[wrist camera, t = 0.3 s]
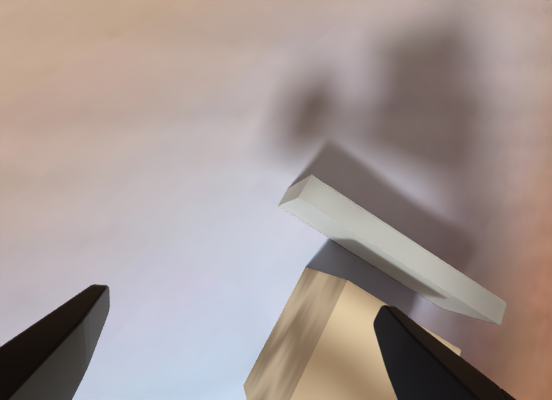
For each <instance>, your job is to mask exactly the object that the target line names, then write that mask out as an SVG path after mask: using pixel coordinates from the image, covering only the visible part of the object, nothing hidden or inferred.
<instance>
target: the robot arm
mask: <svg viewBox="0 0 552 400" xmlns="http://www.w3.org/2000/svg"><path fill="white" fill-rule="evenodd" d="M109 307H110V297H109V287H108V286H107V285H96V284H94V285H91V286H89V287H88V288H86V289H85V290H83V291H82V292H81V293H79V294H78V295H76V296H75V297H73V298H72V299H70V300H69V301H67V302H66V303H64V304H63V305H61V306H60V307H58V308H57V309H56V310H54V311H53V312H51V313H50V314H48V315H47V316H45V317H44V318H42V319H41V320H39V321H38V322H36V323H35V324H33V325H32V326H30V327H29V328H28V329H26V330H25V331H23V332H22V333H20V334H19V335H17V336H16V337H14V338H13V339H11V340H10V341H8V342H7V343H5V344H4V345H3V346H1V347H0V400H72V398H73V396H74V394H75V392H76V390H77V388H78V386H79V385H80V383H81V381H82V379H83V376H84V374H85V372H86V370H87V368H88V365H89V363H90V360H91V358H92V355H93V352H94V350H95V347H96V345H97V342H98V339H99V337H100V334H101V331H102V329H103V326H104V323H105V321H106V318H107V316H108V312H109ZM373 327H374V331H375V334H376V338H377V341H378V345H379V348H380V351H381V355H382V358H383V362H384V365H385V368H386V371H387V374H388V377H389V379H390V382H391V385H392V387H393V390H394V392H395V395H396V397H397V400H516V399H515V398H513V397H512V396H511V395H509V394H508V393H507V392H506V391H504V390H503V389H500V387H499V386H498V385H496V384H495V383H494V382H492V381H491V380H490V379H489V378H487V377H486V376H485V375H483V374H482V373H481V372H479V371H478V370H477V369H476V368H474V367H473V366H472V365H470V364H469V363H468V362H466V361H465V360H464V359H462V358H461V357H460V356H459V355H457V354H456V353H455V352H453V351H452V350H451V349H449V348H448V347H447V346H446V345H444V344H443V343H442V342H440V341H439V340H438V339H436V338H435V337H434V336H433V335H431V334H430V333H429V332H427V331H426V330H425V329H423V328H422V327H421V326H420V325H418V324H417V323H416V322H414V321H413V320H412V319H410V318H409V317H408V316H407V315H405V314H404V313H403V312H401V311H400V310H399V309H397V308H396V307H395V306H391V305H383V306H381V308H380V309H379V311H378V313H377V315H376V317H375V319H374V322H373Z"/></svg>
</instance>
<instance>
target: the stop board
mask: <svg viewBox="0 0 552 400" xmlns="http://www.w3.org/2000/svg"><path fill="white" fill-rule="evenodd" d="M278 207H280V208H281V209H283V210H285V211H286V212H288V213H289V214H291V215H293V216H294V217H296V218H297V219H299V220H301V221H302V222H304V223H305V224H307V225H309V226H310V227H312V228H314V229H315V230H317V231H318V232H320V233H322V234H323V235H325V236H326V237H328V238H330V239H331V240H333V241H334V242H336V243H338V244H339V245H341V246H342V247H344V248H346V249H347V250H349V251H350V252H352V253H354V254H355V255H357V256H358V257H360V258H362V259H363V260H365V261H367V262H368V263H370V264H371V265H373V266H375V267H376V268H378V269H379V270H381V271H383V272H384V273H386V274H387V275H389V276H391V277H392V278H394V279H395V280H397V281H399V282H400V283H402V284H403V285H405V286H407V287H408V288H410V289H411V290H413V291H415V292H416V293H418V294H420V295H421V296H423V297H424V298H426V299H428V300H429V301H431V302H432V303H434V304H436V305H437V306H439V307H440V308H444V309H447V310H450V311H454V312H457V313H460V314H464V315H467V316H470V317H473V318H477V319H480V320H483V321H487V322H490V323H493V324H497V325H501V322H502V318H503V315H504V312H505V309H506V306H507V302H505V301H504V300H502V299H500V298H499V297H497V296H496V295H494V294H493V293H491V292H490V291H488V290H487V289H485V288H484V287H482V286H481V285H479V284H478V283H476V282H475V281H473V280H472V279H470V278H468V277H467V276H465V275H464V274H462V273H461V272H459V271H458V270H456V269H455V268H453V267H452V266H450V265H449V264H447V263H446V262H444V261H443V260H441V259H440V258H438V257H436V256H435V255H433V254H432V253H430V252H429V251H427V250H426V249H424V248H423V247H421V246H420V245H418V244H417V243H415V242H414V241H412V240H411V239H409V238H408V237H406V236H404V235H403V234H401V233H400V232H398V231H397V230H395V229H394V228H392V227H391V226H389V225H388V224H386V223H385V222H383V221H382V220H380V219H379V218H377V217H376V216H374V215H372V214H371V213H369V212H368V211H366V210H365V209H363V208H362V207H360V206H359V205H357V204H356V203H354V202H353V201H351V200H350V199H348V198H347V197H345V196H343V195H342V194H340V193H339V192H337V191H336V190H334V189H333V188H331V187H330V186H328V185H327V184H325V183H324V182H322V181H321V180H319V179H318V178H316V177H315V176H313V175H310V176H308V177H306V178H305V179H303V180H301V181H300V182H298V183H296V184H295V185H293V186H291V187H289V188H288V189H287V191H286V193H285V195H284V196H283V198H282V200H281V202H280V203H279V205H278Z"/></svg>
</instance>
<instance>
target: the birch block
mask: <svg viewBox="0 0 552 400" xmlns="http://www.w3.org/2000/svg"><path fill="white" fill-rule="evenodd" d="M383 305H387V304H386V303H384V302H382V301H381V300H379V299H378V298H376V297H374V296H373V295H371V294H369V293H368V292H366V291H365V290H363V289H361V288H360V287H358V286H357V285H355V284H353V283H352V282H350V281H348V280H346V279H343V278H339V277H336V276H333V275H330V274H327V273H323V272H320V271H317V270H314V269H310V268H307V267H305V269H304V271H303V273H302V275H301V277H300V279H299V281H298V282H297V284H296V286H295V288H294V290H293V292H292V294H291V296H290V298H289V300H288V301H287V303H286V305H285V307H284V309H283V311H282V313H281V315H280V317H279V319H278V321H277V322H276V324H275V326H274V328H273V330H272V332H271V334H270V336H269V338H268V340H267V341H266V343H265V345H264V347H263V349H262V351H261V353H260V355H259V357H258V359H257V360H256V362H255V364H254V366H253V368H252V370H251V372H250V374H249V376H248V378H247V380H246V381H245V383H244V385H243V386H244V390H245V394H246V398H247V400H397V397H396V395H395V392H394V390H393V387H392V385H391V382H390V379H389V377H388V374H387V371H386V368H385V365H384V362H383V358H382V355H381V351H380V348H379V345H378V341H377V338H376V334H375V331H374V327H373V322H374V319H375V317H376V315H377V313H378V311H379V309H380V308H381V306H383ZM414 322H415V321H414ZM417 324H418V323H417ZM418 325H420V324H418ZM420 326H421V325H420ZM421 327H422V328H423V329H425V330H426V331H427V332H429V333H430V334H431V335H433V336H434V337H435V338H436V339H438V340H439V341H440V342H442V343H443V344H444V345H446V346H447V347H448V348H449V349H451V350H452V351H453V352H455V353H456V354H457V355H459V356H460V353H461V350H460V349H458V348H457V347H455V346H453V345H452V344H450V343H449V342H447V341H445V340H444V339H442V338H441V337H439V336H437V335H436V334H434V333H432V332H431V331H429V330H428V329H426V328H424V327H423V326H421Z"/></svg>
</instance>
